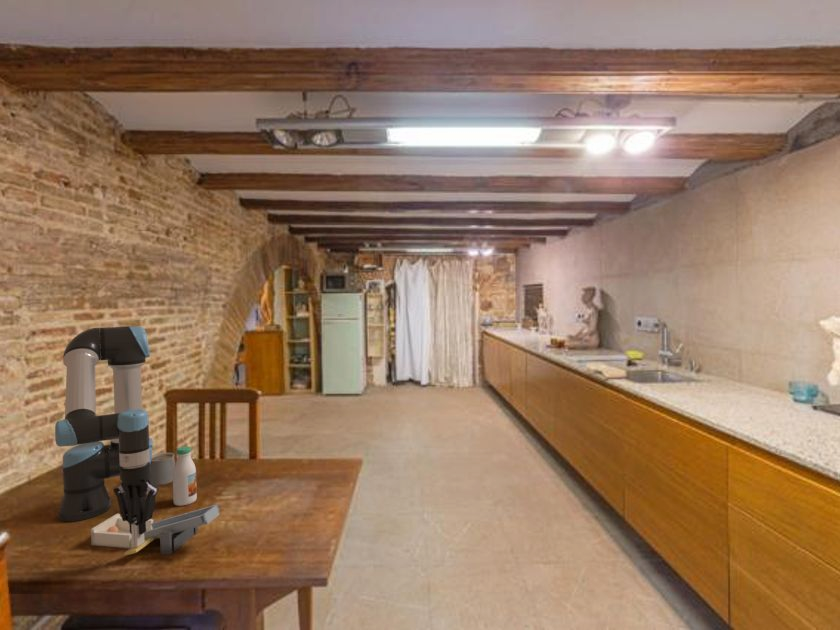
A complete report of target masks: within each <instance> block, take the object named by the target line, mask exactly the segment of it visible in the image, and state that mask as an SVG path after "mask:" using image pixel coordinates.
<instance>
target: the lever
mask: <svg viewBox="0 0 840 630" xmlns="http://www.w3.org/2000/svg"><path fill="white" fill-rule="evenodd" d="M220 509H221V508H220V506H219V504H218V503H217V504H212V505H210V506H206V507H202V508H199V509H195V510H191V511H187V512H188V513H187V512H186V513H181V514H178V515H175V516H171V517H167V518H165V519H160V520H158V521H153V523H152V524H151V525H152V528H153V529H151V530H148V531H146V532H145V533H144V540H145V542H144V543H142V544H141V545H140V546H138V547H131V548H128V550H126V551H124V552H123V553H124V556H125V557H126V556H128V555H133V554H136V553H138V552H139V551H141V550H142V549H144V548H145V547H146V546H148V545H149V544H150V543H151V542H153V541H154V540H155V539H158V538H159V539H160V532H161V531H172V535H173V534H174V533H177V532H181V531H184V530H188V529H192V528H195V527H197V528H199V527H201V526H206V525H208V524H210V523H211V522H213V520H215V519H216V518H217V517H218V516H219V515H220Z"/></svg>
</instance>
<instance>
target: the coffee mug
mask: <svg viewBox="0 0 840 630" xmlns="http://www.w3.org/2000/svg"><path fill="white" fill-rule="evenodd" d="M175 456H176V455H175V453H173V452H160V453H155V454H152V459H151V464H150V471H151V473H150V476H149V480H150V482H151V486H153V487H158V486H163V485H168V484H170V483H173V469H174V466H175V464H176V462H175Z"/></svg>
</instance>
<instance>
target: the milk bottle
mask: <svg viewBox="0 0 840 630" xmlns="http://www.w3.org/2000/svg"><path fill="white" fill-rule="evenodd" d="M191 453H192V448H191V446H181V447H180V446H179V447H178V448H176V456H177V459H176V462H175V466H174V469H173V481H172V496H173V497H172V499H173V501H172V502H173V505H175V506H180V507H181V506H187V505H190V504H193V503H195V502H196V501H197V498H198V497H197V496H198V493H197V492H198V491H197V488H198V487H197V485H198V484H197V468H196V465H195V462H194V461H193V459H192V457H191Z"/></svg>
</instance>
